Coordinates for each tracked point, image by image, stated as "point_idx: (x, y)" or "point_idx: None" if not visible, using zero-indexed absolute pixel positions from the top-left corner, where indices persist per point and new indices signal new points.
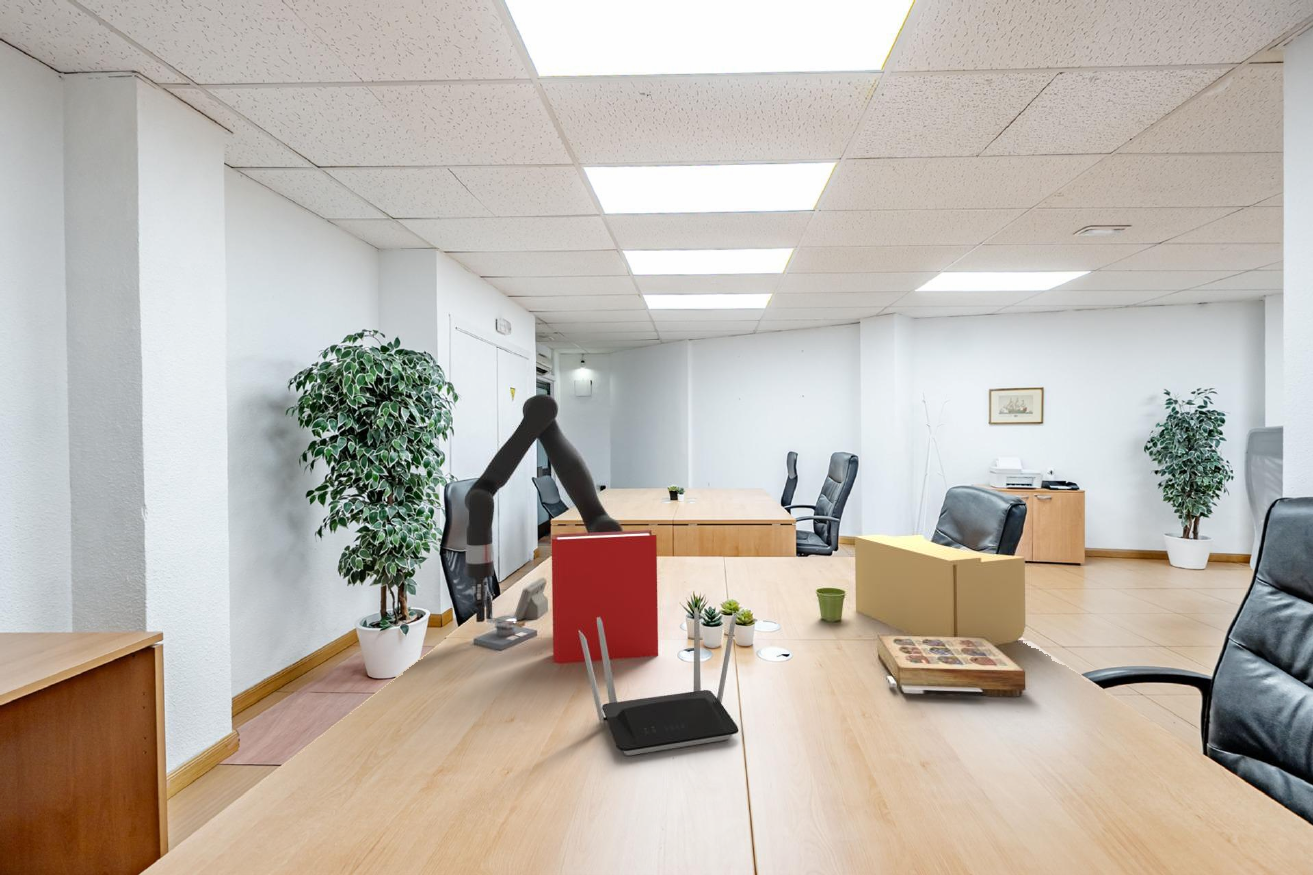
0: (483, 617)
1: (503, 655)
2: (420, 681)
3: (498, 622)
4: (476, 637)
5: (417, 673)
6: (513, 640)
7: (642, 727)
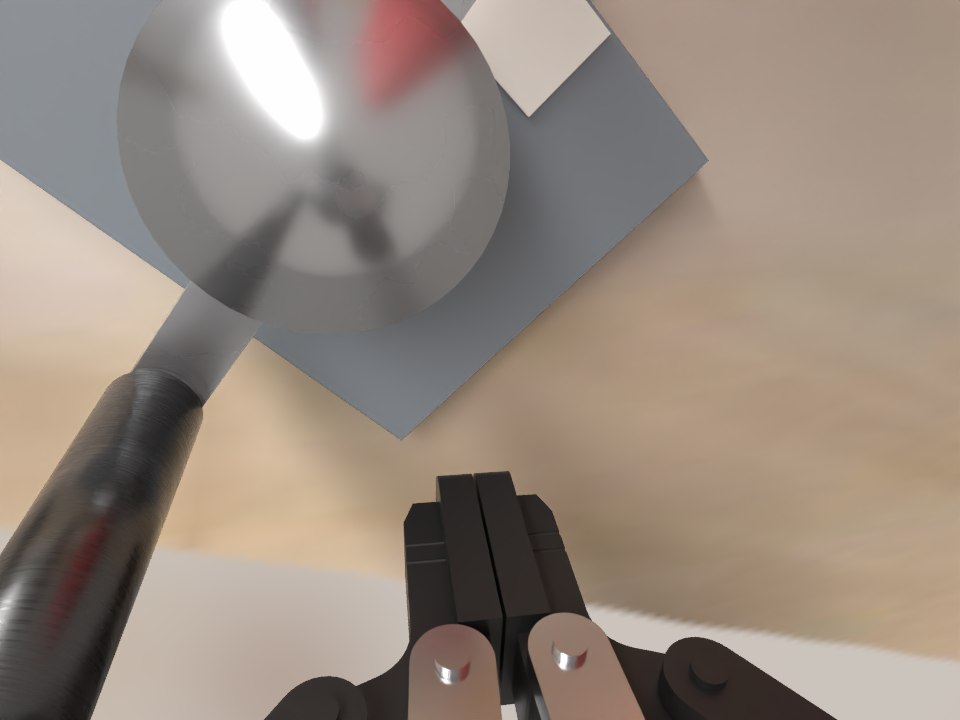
0: (516, 510)
1: (824, 126)
2: (952, 579)
3: (464, 271)
4: (380, 420)
5: (831, 614)
6: (595, 12)
7: None
